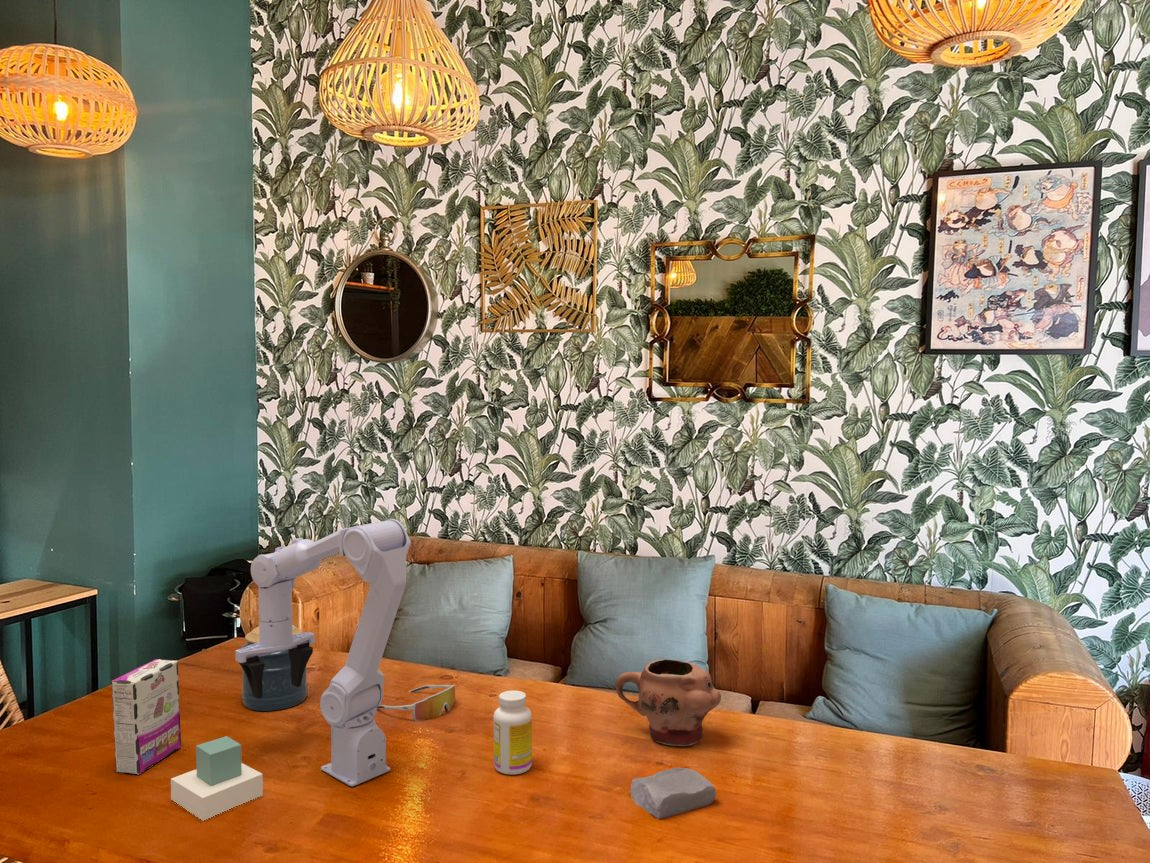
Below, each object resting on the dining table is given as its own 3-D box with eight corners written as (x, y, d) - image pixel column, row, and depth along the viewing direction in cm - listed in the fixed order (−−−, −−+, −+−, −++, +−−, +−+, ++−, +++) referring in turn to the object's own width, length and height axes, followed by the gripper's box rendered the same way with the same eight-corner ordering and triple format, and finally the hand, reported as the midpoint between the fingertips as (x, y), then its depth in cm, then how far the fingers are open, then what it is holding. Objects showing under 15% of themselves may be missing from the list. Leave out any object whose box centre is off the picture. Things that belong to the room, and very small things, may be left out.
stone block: (624, 807, 135) (659, 823, 126) (622, 776, 135) (656, 790, 126) (684, 792, 140) (721, 807, 131) (682, 763, 141) (718, 775, 132)
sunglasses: (423, 727, 161) (420, 702, 161) (368, 721, 169) (365, 697, 169) (469, 704, 173) (467, 680, 173) (416, 699, 181) (413, 676, 181)
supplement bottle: (538, 763, 146) (538, 691, 145) (520, 779, 140) (520, 705, 139) (505, 755, 148) (505, 685, 148) (486, 771, 142) (486, 698, 142)
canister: (262, 687, 181) (260, 608, 180) (318, 690, 179) (317, 610, 178) (229, 710, 168) (227, 625, 167) (289, 714, 166) (288, 628, 165)
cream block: (262, 797, 134) (262, 773, 134) (203, 823, 126) (202, 798, 126) (230, 779, 140) (229, 756, 140) (171, 803, 132) (170, 778, 132)
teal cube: (241, 775, 133) (241, 744, 133) (210, 786, 129) (210, 754, 129) (227, 765, 136) (226, 735, 136) (196, 776, 133) (196, 745, 133)
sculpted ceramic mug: (610, 746, 152) (610, 672, 151) (618, 720, 164) (618, 651, 163) (720, 755, 149) (721, 680, 148) (720, 727, 161) (721, 657, 160)
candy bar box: (158, 745, 152) (155, 658, 151) (182, 747, 151) (180, 659, 150) (112, 773, 141) (110, 679, 140) (138, 776, 140) (135, 681, 139)
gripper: (300, 605, 158) (301, 675, 159) (226, 622, 147) (228, 696, 148) (320, 612, 154) (321, 684, 155) (245, 630, 143) (247, 707, 144)
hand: (277, 691), depth 151 cm, fingers open, 7 cm apart
